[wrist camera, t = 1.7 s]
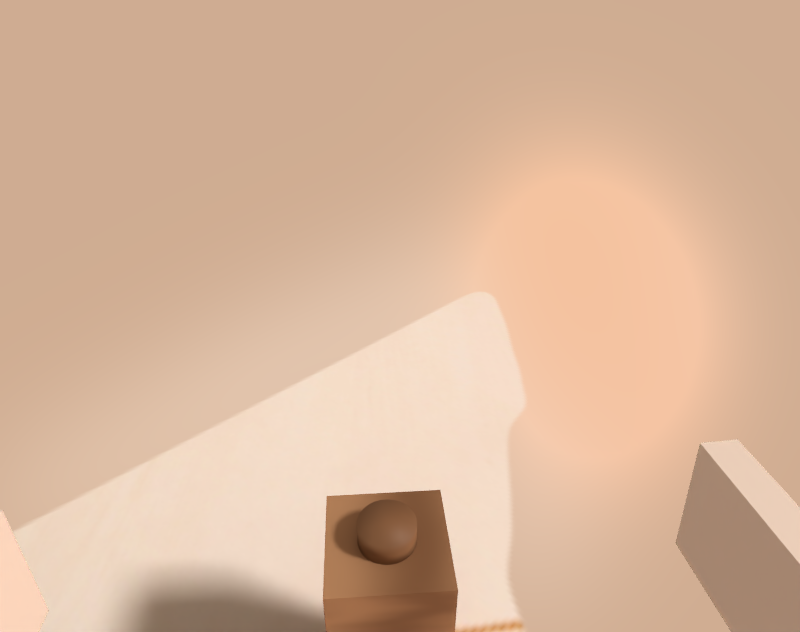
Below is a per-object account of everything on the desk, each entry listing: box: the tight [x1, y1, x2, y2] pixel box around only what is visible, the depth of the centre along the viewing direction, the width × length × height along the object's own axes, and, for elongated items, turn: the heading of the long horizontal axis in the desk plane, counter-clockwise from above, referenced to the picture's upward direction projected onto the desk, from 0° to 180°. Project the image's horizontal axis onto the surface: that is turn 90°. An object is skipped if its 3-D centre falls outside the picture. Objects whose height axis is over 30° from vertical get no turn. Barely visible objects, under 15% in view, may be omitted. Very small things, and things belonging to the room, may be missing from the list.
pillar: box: [323, 490, 458, 632], centre depth 27 cm, size 5×5×13 cm
